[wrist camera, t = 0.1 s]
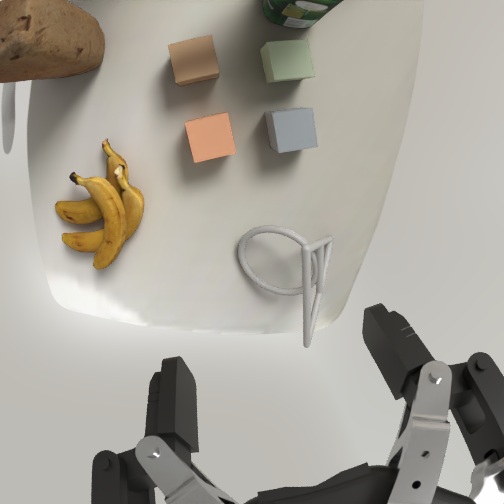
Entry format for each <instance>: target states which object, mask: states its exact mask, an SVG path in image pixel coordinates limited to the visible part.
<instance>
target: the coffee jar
mask: <svg viewBox="0 0 504 504" xmlns="http://www.w3.org/2000/svg"><path fill="white" fill-rule="evenodd" d="M342 1H343V0H263V10H264V13H265V15H266V16H267V18H268V19H269V20H271V21H272V22H274V23H276V24H280V25H283V26H288V27H295V28H306V27H310V26H312V25H313V24H315V23H316V22H317V21H318V20H320V19H321V18H322V17H323V16H324V15H325V14H326V13H327V12H329V11H330V10H331V9H332V8H334V7H335V6H337V5H338V4H339V3H340V2H342Z"/></svg>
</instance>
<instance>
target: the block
mask: <svg viewBox="0 0 504 504" xmlns="http://www.w3.org/2000/svg"><path fill="white" fill-rule="evenodd" d="M104 49H105V39H104V34H103V32H102V30H101V28H100V26H99V23H98V21H97V20H96V19H95V18H93V17H92V16H91V15H90V14H89V13H87V12H85V11H84V10H82V9H81V8H79V7H77V6H75V5H74V4H72V3H70V2H68V1H66V0H2V1H0V83H8V82H18V81H26V80H36V79H50V78H62V77H68V76H73V75H77V74H81V73H85V72H88V71H90V70H93V69H95V68H96V67H98V66H99V65H100V64H101V63H102V60H103V55H104Z"/></svg>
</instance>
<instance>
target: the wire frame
mask: <svg viewBox="0 0 504 504" xmlns="http://www.w3.org/2000/svg"><path fill="white" fill-rule="evenodd" d="M267 232H270V233H278V234H281V235H284V236H287V237H289V238H291V239H293V240H294V241H296V242H297V243H299V244H300V245H301V246H302V248H301V255H302V282H303V286H302V287H300V288H296V289H281V288H277V287H274V286H271V285H269V284H267V283H265V282H264V281H262V280H261V279H260V278H258V277H257V276H256V275H255V274H254V273H253V272H252V270H251V269H250V268H249V266H248V264H247V262H246V259H245V254H244V251H245V246H246V243H247V242H248V240H249V239H250V238H252V237H253V236H255V235H257V234H260V233H267ZM333 240H334V238H333V236H328V237H325V238H323V239H320V240H317V241H315V242H312V243H308V242H307V241H306V240H305V239H304V238H303V237H301V236H300V235H299V234H297V233H295V232H294V231H291V230H289V229H287V228H284V227H280V226H274V225H264V226H259V227H256V228H253V229H251V230H250V231H248V232H247V233H246V234H245V235H244V236H243V237H242V239H241V241H240V243H239V247H238V257H239V261H240V264H241V266H242V268H243V270H244V271H245V273H246V274H247V275H248V276H249V278H250V279H251V280H252V281H254V282H255V283H256V284H257V285H259V286H260V287H262V288H264V289H266V290H268V291H270V292H273V293H276V294H280V295H298V294H302V293H303V334H304V335H303V336H304V337H303V339H304V340H303V343H304V347H306V348H307V347H309V346H310V342H311V339H312V335H313V331H314V327H315V323H316V319H317V315H318V311H319V307H320V302H321V298H322V294H323V289H324V284H325V280H326V275H327V270H328V266H329V261H330V256H331V250H332V245H333ZM324 245H326V249H325V254H324ZM315 250H317V252H315ZM311 261H312V264H313V275H312V277H311ZM315 284H316V295H315V300H314V304H313V308H312V312H311V288H312V287H313V286H314V285H315Z"/></svg>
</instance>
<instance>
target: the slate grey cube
mask: <svg viewBox="0 0 504 504" xmlns="http://www.w3.org/2000/svg"><path fill="white" fill-rule="evenodd" d="M264 113H265V118H266V124H267V130H268V135H269V141H270V147H271V148H272V149H274V150H275V151H276V152H278V153H283V152H289V151H295V150H302V149H308V148H315V147H318V145H317V137H316V129H315V122H314V115H313V108H301V107H300V108H292V109H284V110H277V111H270V112H264Z"/></svg>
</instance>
